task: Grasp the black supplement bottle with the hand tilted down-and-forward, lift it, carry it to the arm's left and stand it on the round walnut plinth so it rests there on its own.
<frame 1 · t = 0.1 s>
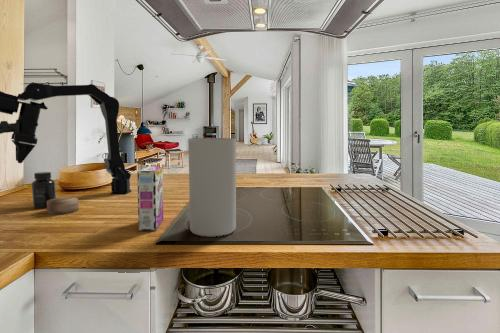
hand: (18, 161, 110), 15 cm above the worktop, tool pointing down, fingers open, 9 cm apart
walnut plinth: (63, 211, 104), on the worktop
supplement bottle: (45, 206, 110), on the worktop
cylinder vase: (213, 230, 86), on the worktop
candy bar box: (152, 225, 90), on the worktop
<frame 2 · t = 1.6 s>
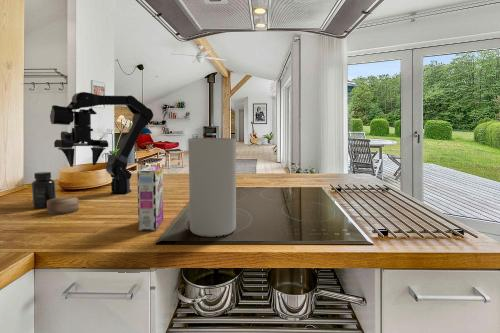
hand: (83, 165, 122), 13 cm above the worktop, tool pointing down, fingers open, 9 cm apart
nothing on the worktop moved.
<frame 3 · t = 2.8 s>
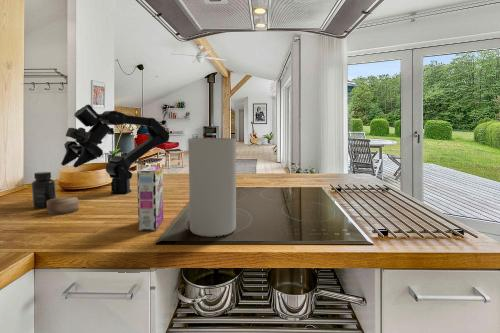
hand: (68, 165, 116), 13 cm above the worktop, tool tilted 45°, fingers open, 9 cm apart
nothing on the worktop moved.
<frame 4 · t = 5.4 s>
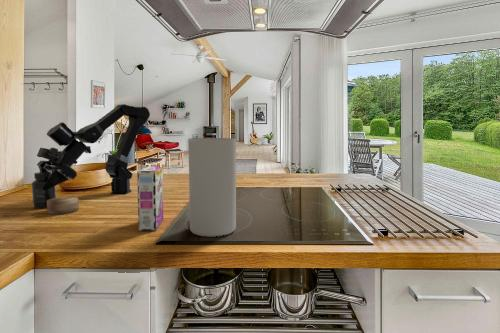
hand: (39, 188, 108), 7 cm above the worktop, tool tilted 45°, fingers closed on supplement bottle, 7 cm apart
supplement bottle: (45, 206, 110), on the worktop, touching gripper
everything else where it was.
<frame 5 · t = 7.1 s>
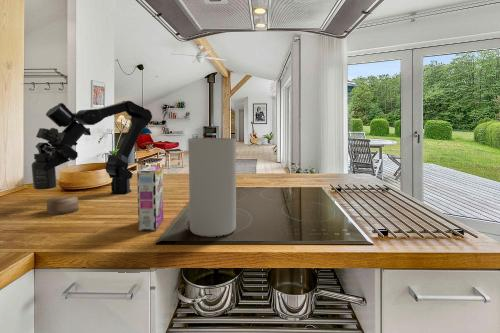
hand: (39, 169, 107), 13 cm above the worktop, tool tilted 45°, fingers closed on supplement bottle, 7 cm apart
supplement bottle: (45, 188, 109), point 6 cm above the worktop, touching gripper
everything else where it was.
when the fingers open (11 cm above the worktop, at t = 8.8 s): supplement bottle stays where it is, resting on walnut plinth.
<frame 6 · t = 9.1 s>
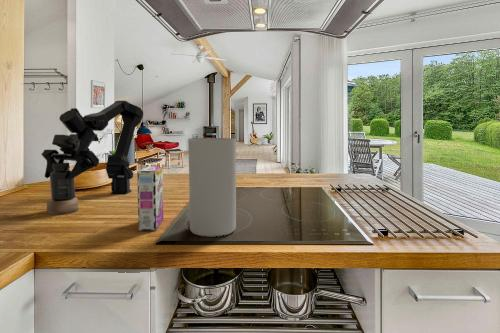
hand: (57, 178, 102), 11 cm above the worktop, tool tilted 45°, fingers open, 9 cm apart
walnut plinth: (63, 211, 104), on the worktop, touching supplement bottle
supplement bottle: (63, 199, 104), point 4 cm above the worktop, touching walnut plinth
everything else where it was.
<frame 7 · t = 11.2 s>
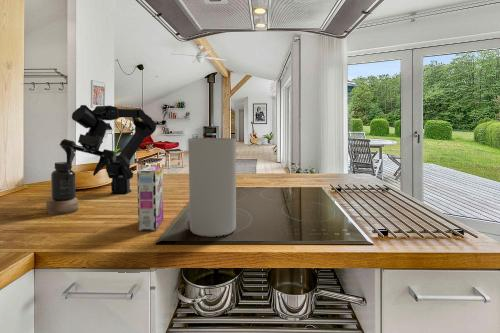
hand: (80, 172, 114), 11 cm above the worktop, tool tilted 30°, fingers open, 9 cm apart
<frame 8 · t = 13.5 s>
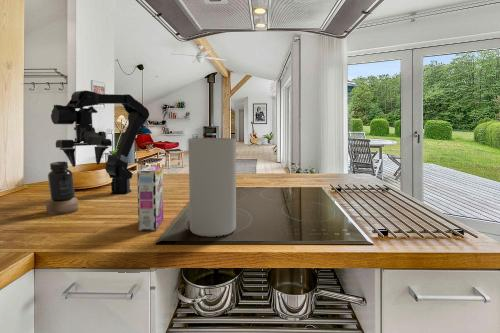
hand: (86, 165, 121), 13 cm above the worktop, tool pointing down, fingers open, 9 cm apart
at the end: supplement bottle 0.3 cm from the walnut plinth (horizontally); supplement bottle point 4.2 cm above the worktop; supplement bottle tilted 8° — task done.
